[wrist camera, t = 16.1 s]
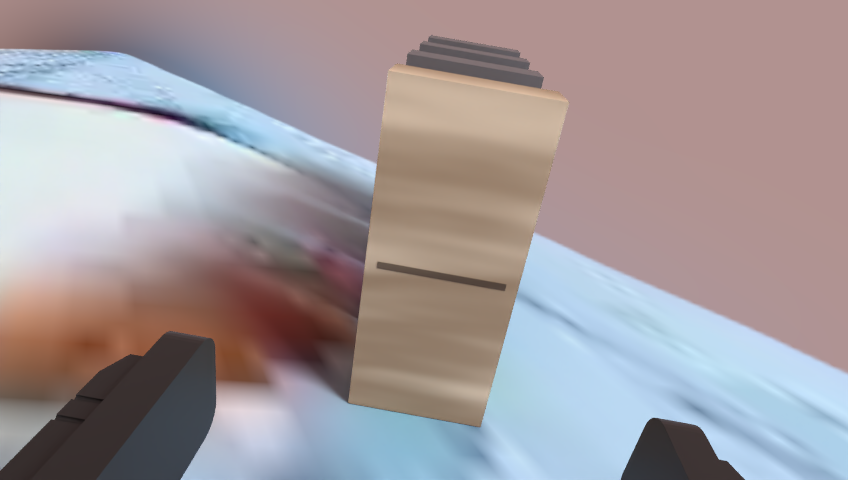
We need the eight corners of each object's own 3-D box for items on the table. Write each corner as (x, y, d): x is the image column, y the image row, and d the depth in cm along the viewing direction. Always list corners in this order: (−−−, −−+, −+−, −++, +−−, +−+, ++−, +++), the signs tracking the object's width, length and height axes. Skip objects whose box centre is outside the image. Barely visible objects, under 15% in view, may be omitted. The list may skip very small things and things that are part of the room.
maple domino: (480, 427, 19) (569, 102, 14) (347, 403, 19) (388, 70, 14) (479, 393, 21) (559, 91, 16) (357, 371, 21) (397, 63, 16)
